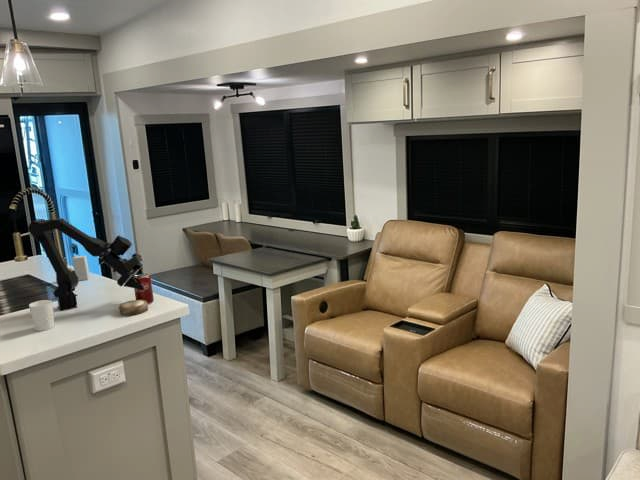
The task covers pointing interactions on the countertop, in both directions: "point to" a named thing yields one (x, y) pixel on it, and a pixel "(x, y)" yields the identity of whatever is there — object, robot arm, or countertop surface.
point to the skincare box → (81, 267)
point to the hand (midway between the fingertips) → (146, 286)
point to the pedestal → (133, 307)
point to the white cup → (42, 315)
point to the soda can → (147, 285)
